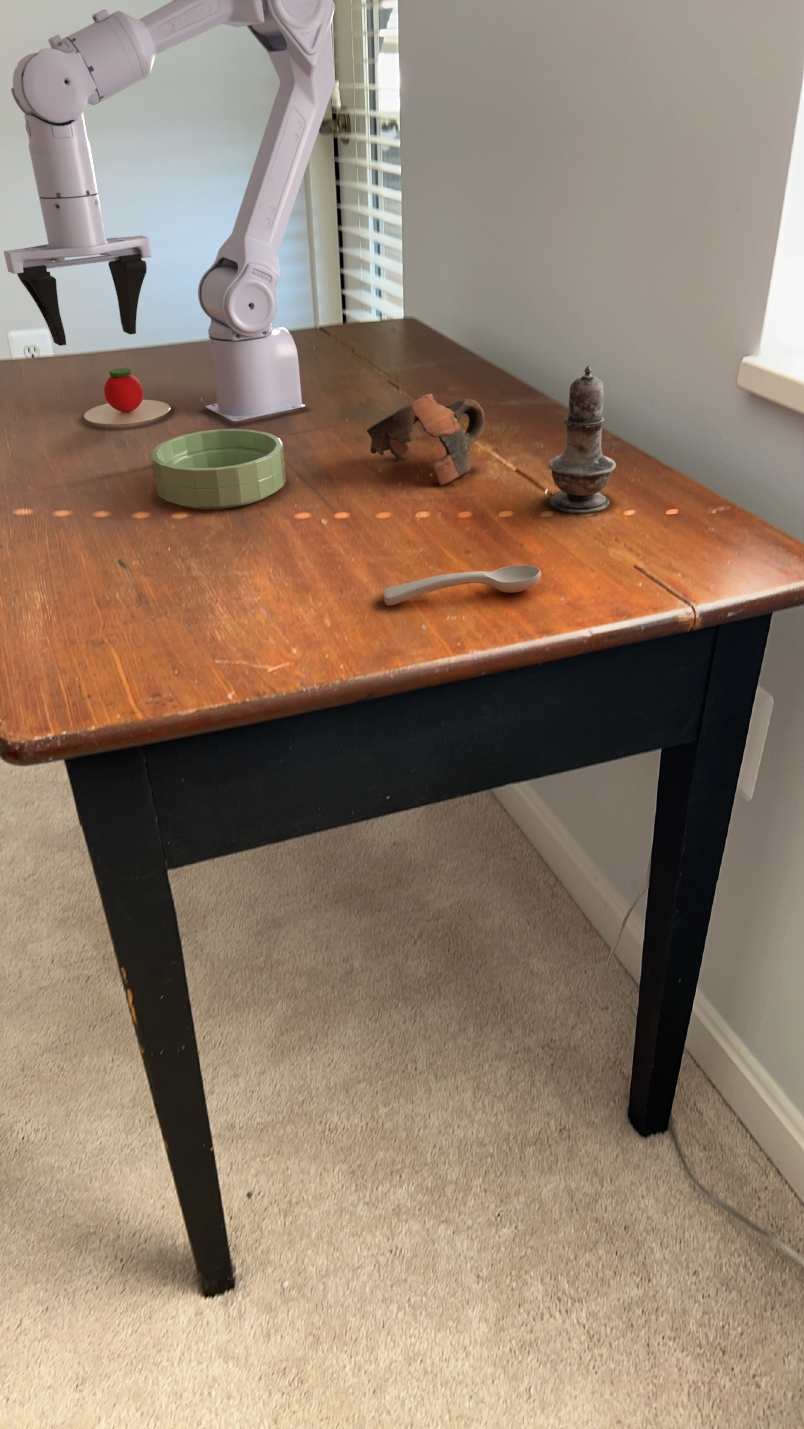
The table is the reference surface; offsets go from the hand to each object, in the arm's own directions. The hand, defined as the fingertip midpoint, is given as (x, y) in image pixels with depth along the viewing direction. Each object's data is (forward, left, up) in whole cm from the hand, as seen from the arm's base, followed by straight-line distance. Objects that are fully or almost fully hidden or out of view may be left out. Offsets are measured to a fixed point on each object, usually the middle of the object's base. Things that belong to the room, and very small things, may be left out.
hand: (95, 338), depth 108 cm
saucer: (-4, -6, -10) cm, 13 cm away
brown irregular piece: (-21, +32, -11) cm, 40 cm away
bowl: (-2, +24, -10) cm, 26 cm away
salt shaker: (-26, +48, -11) cm, 56 cm away
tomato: (-4, -6, -10) cm, 12 cm away
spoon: (-6, +57, -11) cm, 58 cm away
